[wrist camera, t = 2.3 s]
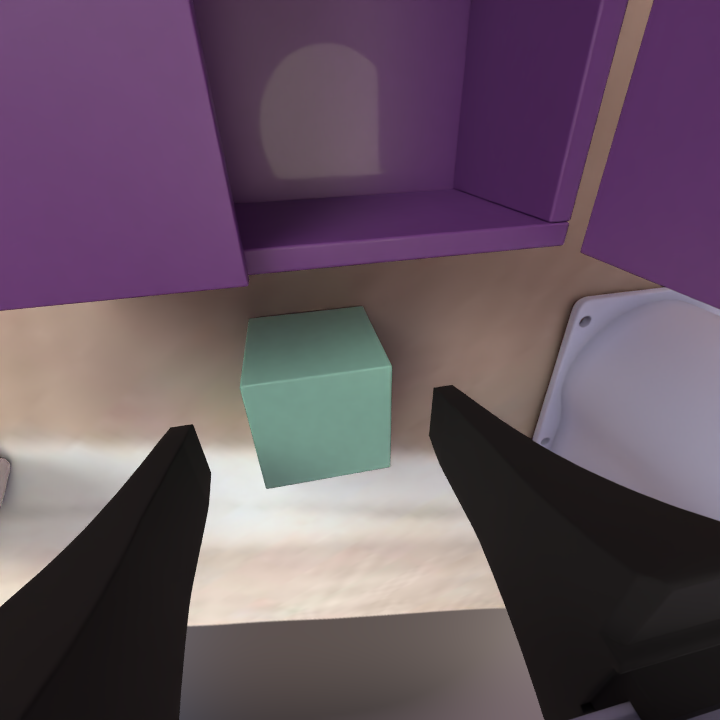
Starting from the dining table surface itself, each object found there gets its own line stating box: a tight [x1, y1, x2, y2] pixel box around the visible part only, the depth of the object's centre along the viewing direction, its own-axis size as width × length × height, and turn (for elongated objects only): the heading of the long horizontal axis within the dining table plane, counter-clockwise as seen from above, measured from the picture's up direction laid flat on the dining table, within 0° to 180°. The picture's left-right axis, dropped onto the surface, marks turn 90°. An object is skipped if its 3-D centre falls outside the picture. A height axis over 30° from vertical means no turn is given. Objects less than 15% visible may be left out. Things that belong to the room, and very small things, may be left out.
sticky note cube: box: [240, 306, 392, 489], centre depth 13 cm, size 4×4×4 cm
